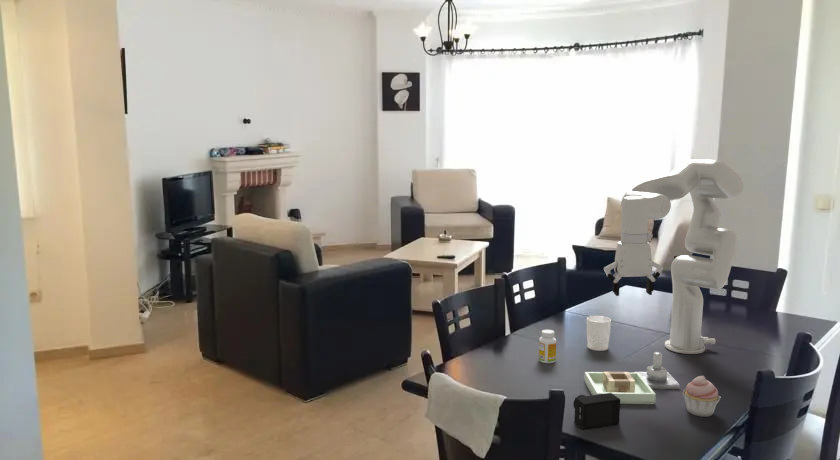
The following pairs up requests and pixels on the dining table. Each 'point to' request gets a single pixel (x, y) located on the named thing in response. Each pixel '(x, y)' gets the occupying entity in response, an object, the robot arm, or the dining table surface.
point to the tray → (639, 397)
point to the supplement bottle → (547, 347)
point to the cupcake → (701, 397)
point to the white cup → (598, 332)
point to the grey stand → (659, 375)
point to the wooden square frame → (618, 382)
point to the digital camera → (596, 411)
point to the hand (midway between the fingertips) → (632, 294)
